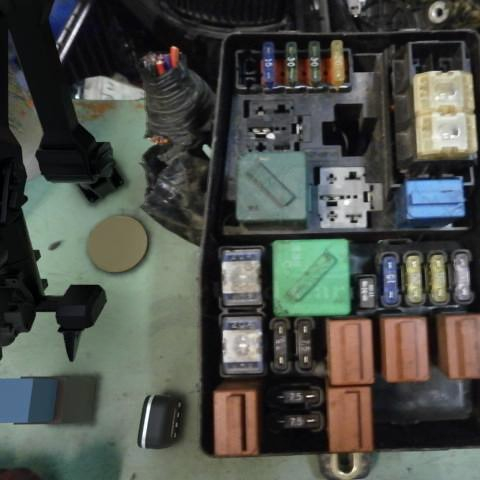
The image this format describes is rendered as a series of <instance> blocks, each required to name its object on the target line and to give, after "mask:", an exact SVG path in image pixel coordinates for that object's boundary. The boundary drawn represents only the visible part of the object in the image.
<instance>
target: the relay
mask: <svg viewBox="0 0 480 480" xmlns="http://www.w3.org/2000/svg"><path fill="white" fill-rule="evenodd" d="M57 386H58V380H49V379H35V378H20V377H19V378H17V377H15V378H9V377H7V378H0V424H14V423H29V422H39V421H50V420H53V418H54V410H55V402H56V394H57Z"/></svg>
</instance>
